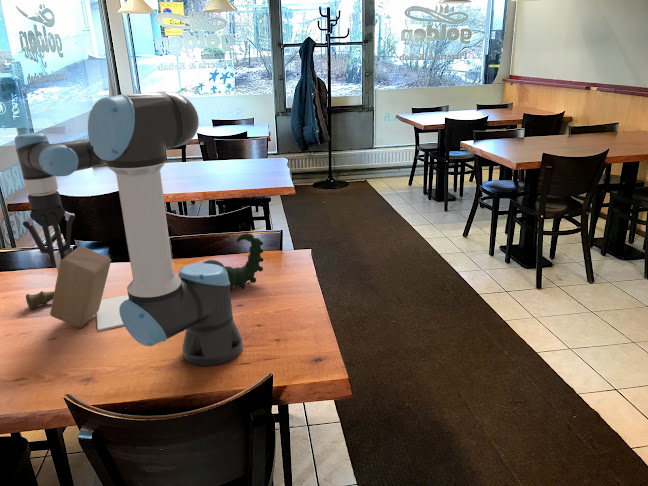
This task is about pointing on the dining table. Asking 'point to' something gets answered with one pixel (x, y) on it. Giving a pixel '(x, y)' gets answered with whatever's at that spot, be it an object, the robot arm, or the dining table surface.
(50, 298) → the kendama
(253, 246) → the toy figurine
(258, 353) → the dining table surface
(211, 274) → the robot arm
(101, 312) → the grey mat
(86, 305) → the wooden block
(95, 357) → the dining table surface
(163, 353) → the dining table surface
